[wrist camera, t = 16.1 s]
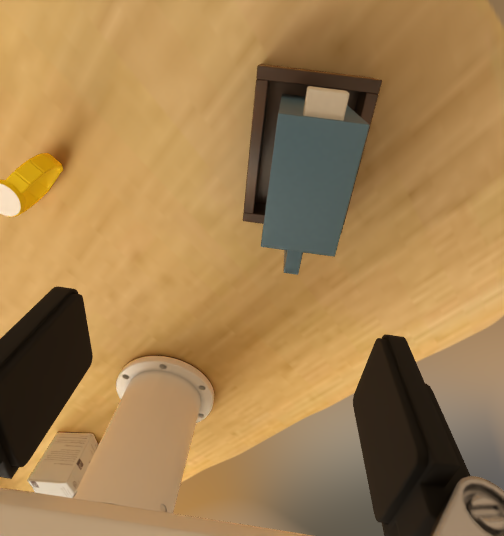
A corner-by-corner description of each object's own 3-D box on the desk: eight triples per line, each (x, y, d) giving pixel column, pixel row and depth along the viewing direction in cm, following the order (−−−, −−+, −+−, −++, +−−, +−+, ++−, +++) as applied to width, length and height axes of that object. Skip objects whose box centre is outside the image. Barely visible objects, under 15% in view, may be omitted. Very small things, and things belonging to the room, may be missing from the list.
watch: (51, 139, 29) (2, 157, 24) (79, 163, 30) (37, 185, 25) (21, 186, 32) (-30, 210, 27) (47, 207, 33) (3, 234, 28)
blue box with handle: (347, 81, 25) (377, 96, 16) (315, 225, 31) (325, 290, 22) (284, 74, 25) (281, 84, 16) (265, 218, 31) (256, 280, 22)
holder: (336, 219, 31) (341, 234, 28) (246, 207, 31) (242, 221, 28) (372, 77, 25) (382, 80, 22) (261, 64, 25) (257, 65, 23)
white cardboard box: (106, 455, 55) (82, 506, 49) (70, 454, 56) (43, 504, 50) (93, 432, 52) (66, 483, 46) (56, 431, 53) (24, 481, 47)
